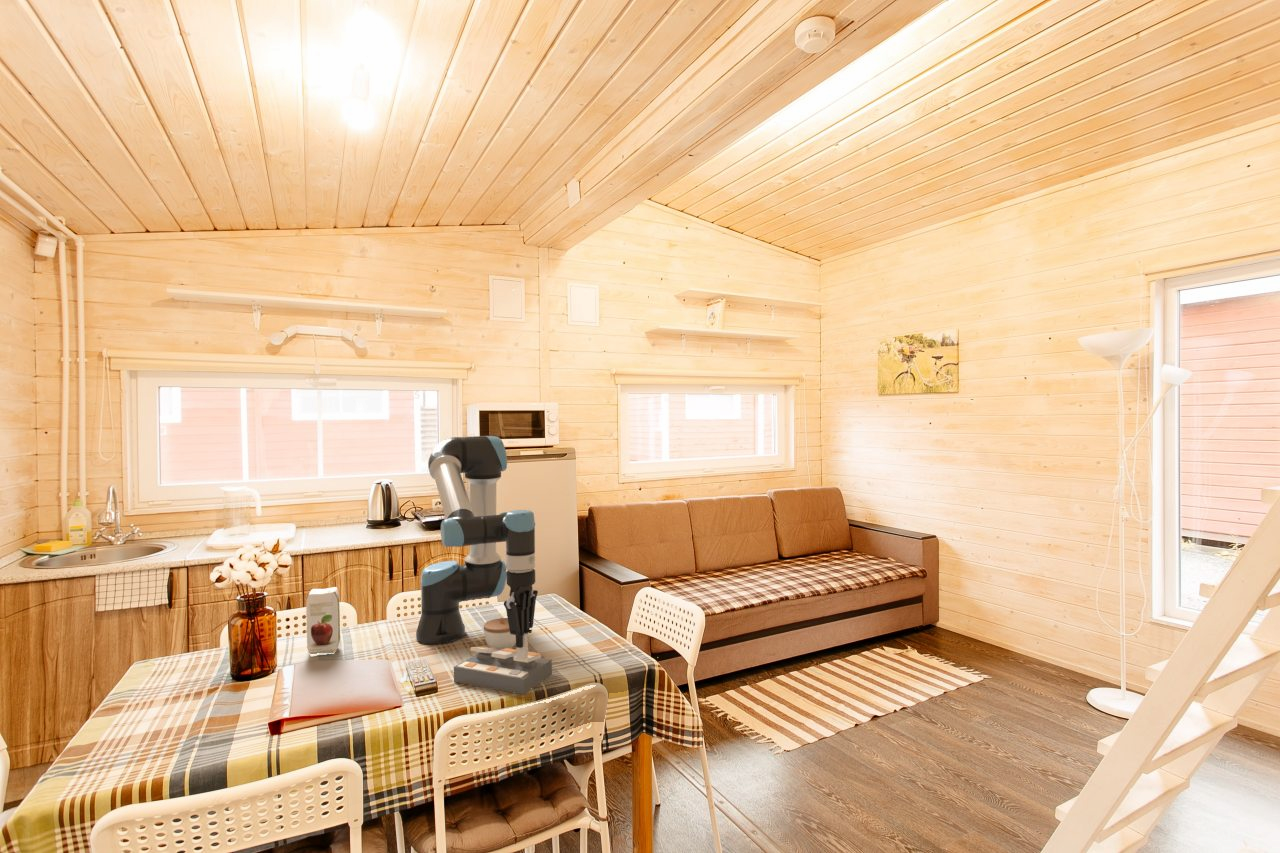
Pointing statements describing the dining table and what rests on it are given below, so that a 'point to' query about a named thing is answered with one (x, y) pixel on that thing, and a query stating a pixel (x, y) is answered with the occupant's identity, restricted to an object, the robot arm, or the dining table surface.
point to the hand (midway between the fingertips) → (522, 658)
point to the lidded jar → (499, 634)
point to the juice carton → (323, 620)
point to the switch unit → (502, 673)
